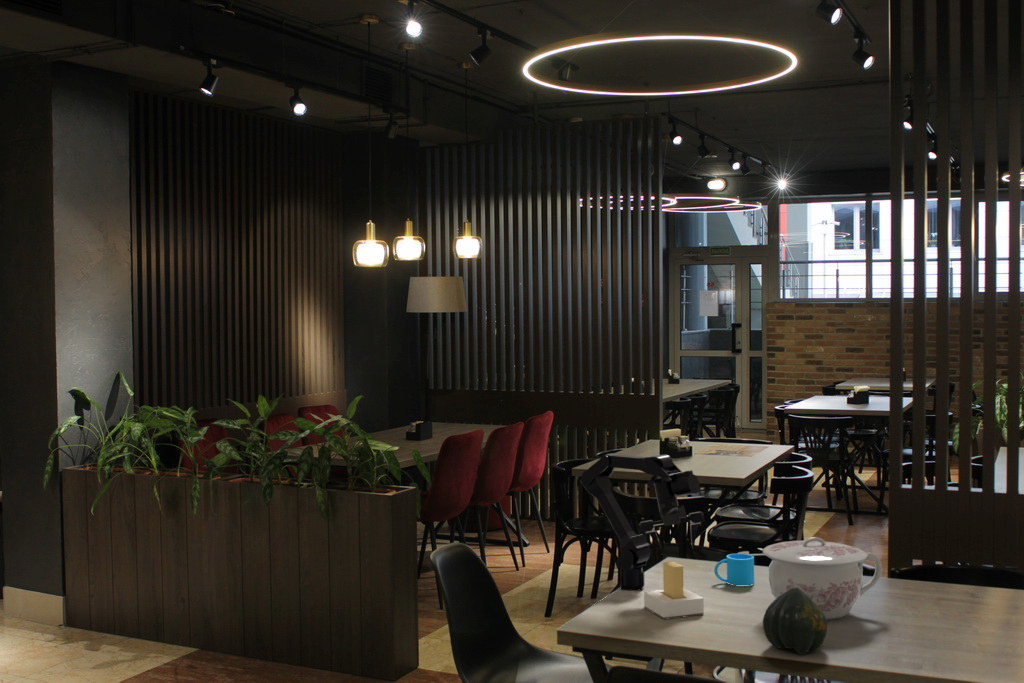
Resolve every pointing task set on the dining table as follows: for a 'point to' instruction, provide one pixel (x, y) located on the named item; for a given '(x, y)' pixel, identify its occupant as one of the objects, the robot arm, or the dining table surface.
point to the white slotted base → (673, 604)
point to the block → (673, 580)
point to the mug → (738, 569)
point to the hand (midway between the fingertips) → (677, 551)
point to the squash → (795, 622)
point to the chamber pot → (821, 573)
